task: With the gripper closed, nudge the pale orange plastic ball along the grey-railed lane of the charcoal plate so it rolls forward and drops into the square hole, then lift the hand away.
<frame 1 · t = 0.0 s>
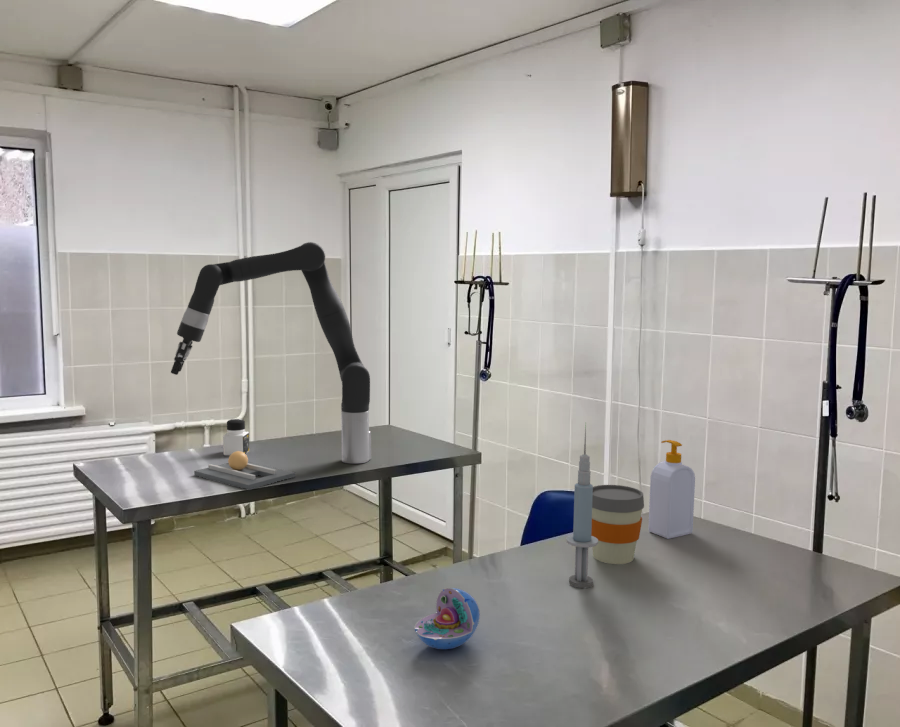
hand: (175, 372, 241), 31 cm above the table, tool tilted 20°, fingers open, 8 cm apart
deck: (244, 476, 237), on the table
medicine bottle: (236, 453, 267), on the table
reusable coffee cup: (613, 557, 172), on the table
syringe: (580, 584, 157), on the table
soap bottle: (669, 533, 188), on the table
ball: (238, 460, 238), point 4 cm above the table, touching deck
cell model: (447, 646, 130), on the table
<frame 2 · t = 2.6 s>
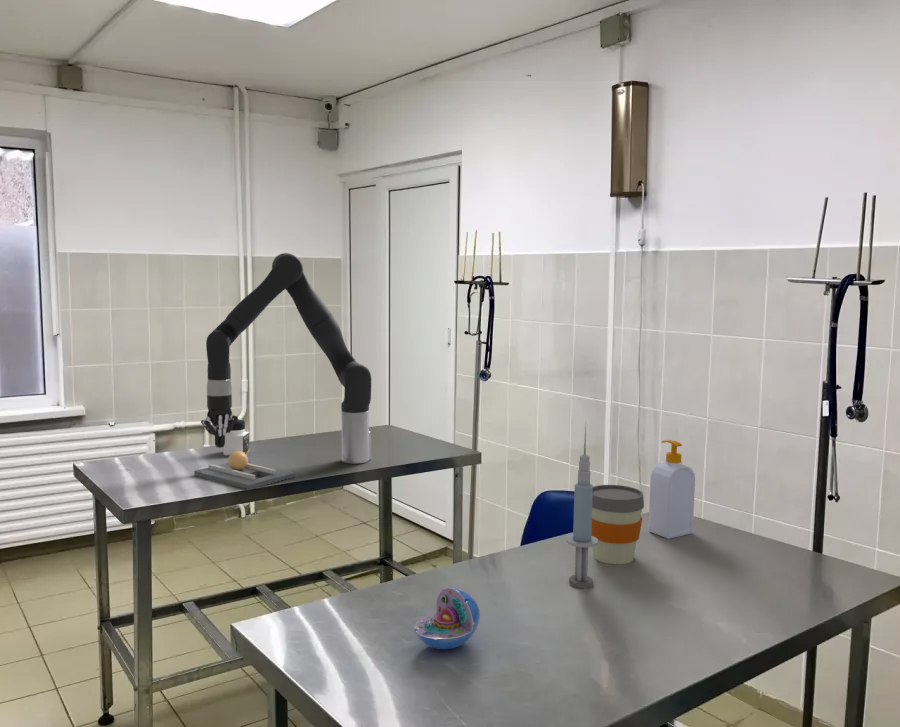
hand: (220, 446, 242), 8 cm above the table, tool pointing down, fingers closed
nothing on the table moved.
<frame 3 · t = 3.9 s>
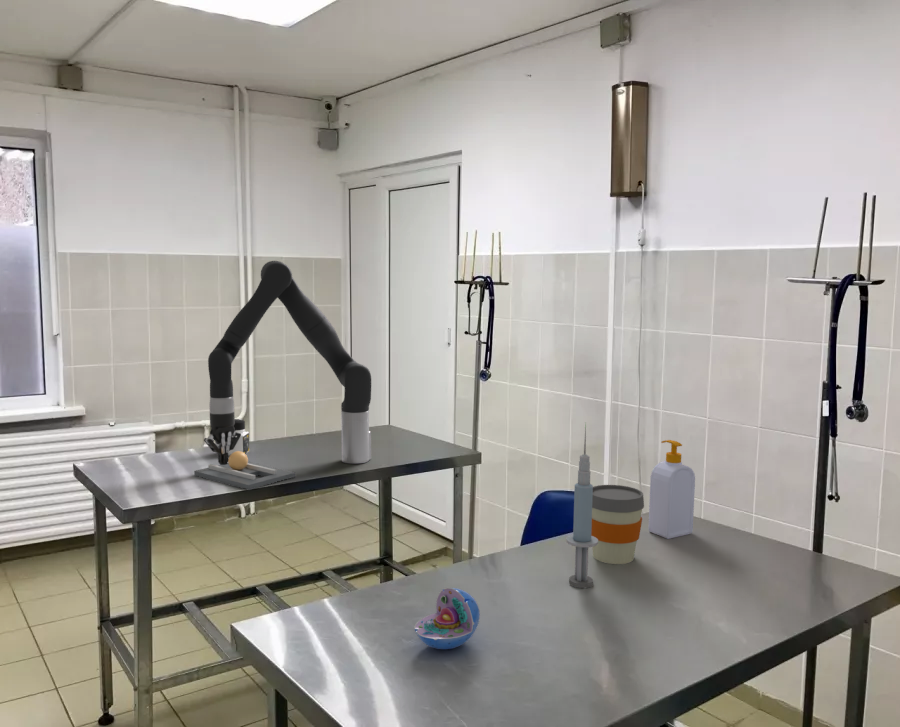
hand: (223, 464, 243), 2 cm above the table, tool pointing down, fingers closed
nothing on the table moved.
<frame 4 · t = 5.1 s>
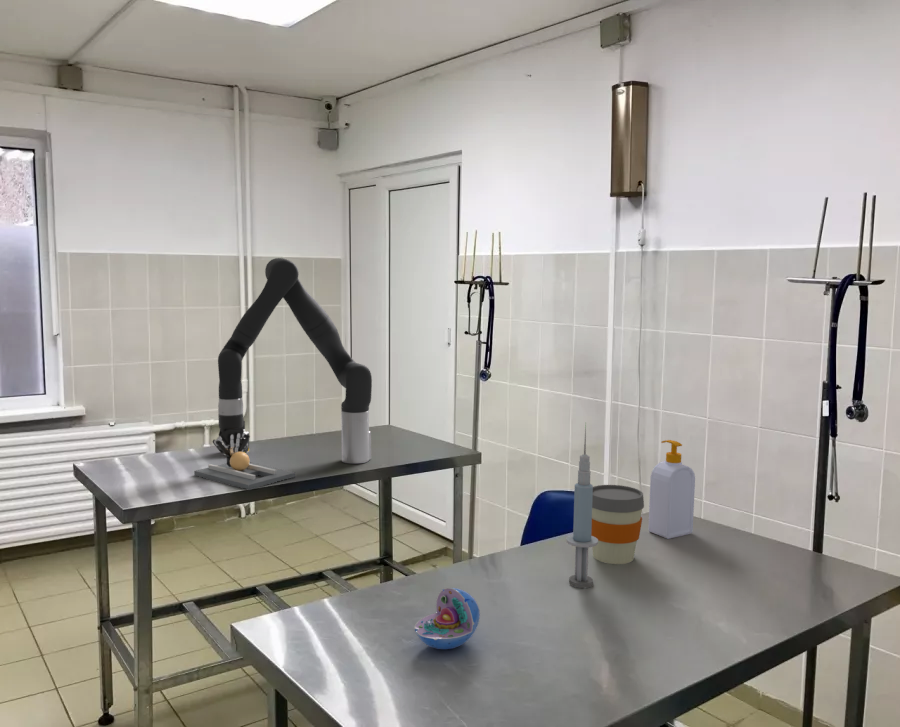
hand: (232, 466, 240), 2 cm above the table, tool pointing down, fingers closed
ball: (239, 461, 237), point 4 cm above the table, tilted 17°, touching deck, gripper
everything else where it was.
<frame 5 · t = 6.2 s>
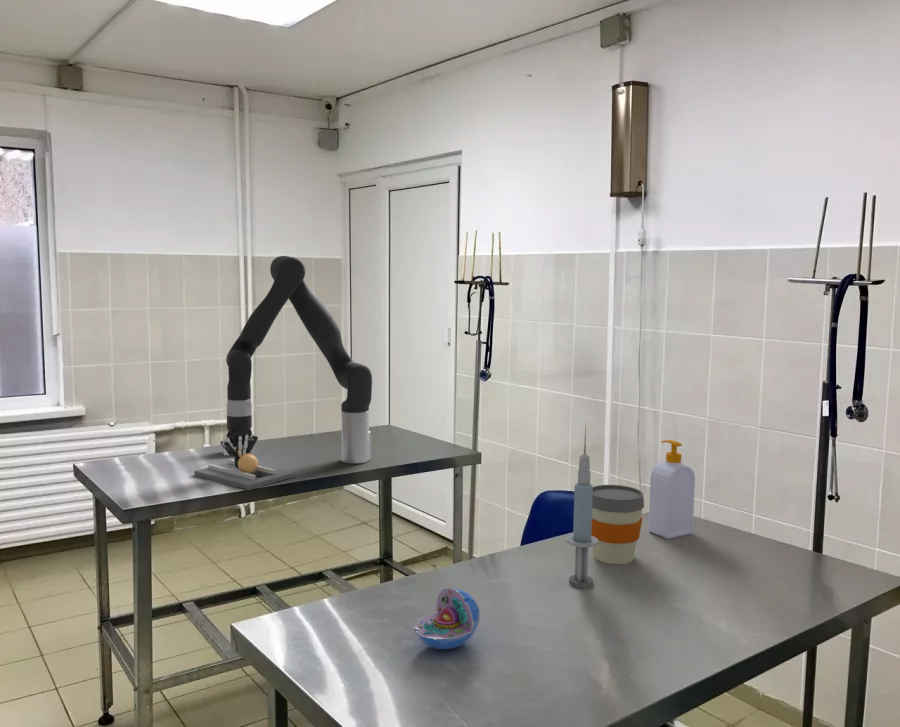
hand: (239, 468, 237), 2 cm above the table, tool pointing down, fingers closed
ball: (247, 463, 235), point 4 cm above the table, tilted 72°, touching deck, gripper
everything else where it was.
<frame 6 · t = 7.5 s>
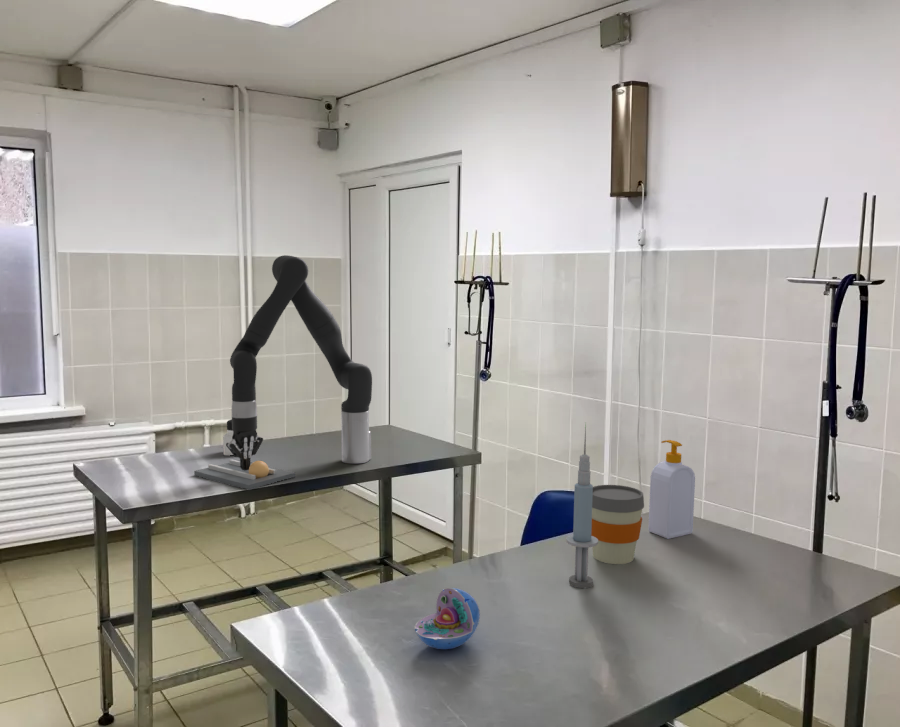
hand: (245, 469, 236), 2 cm above the table, tool pointing down, fingers closed
ball: (258, 470, 232), point 3 cm above the table, tilted 167°
everything else where it was.
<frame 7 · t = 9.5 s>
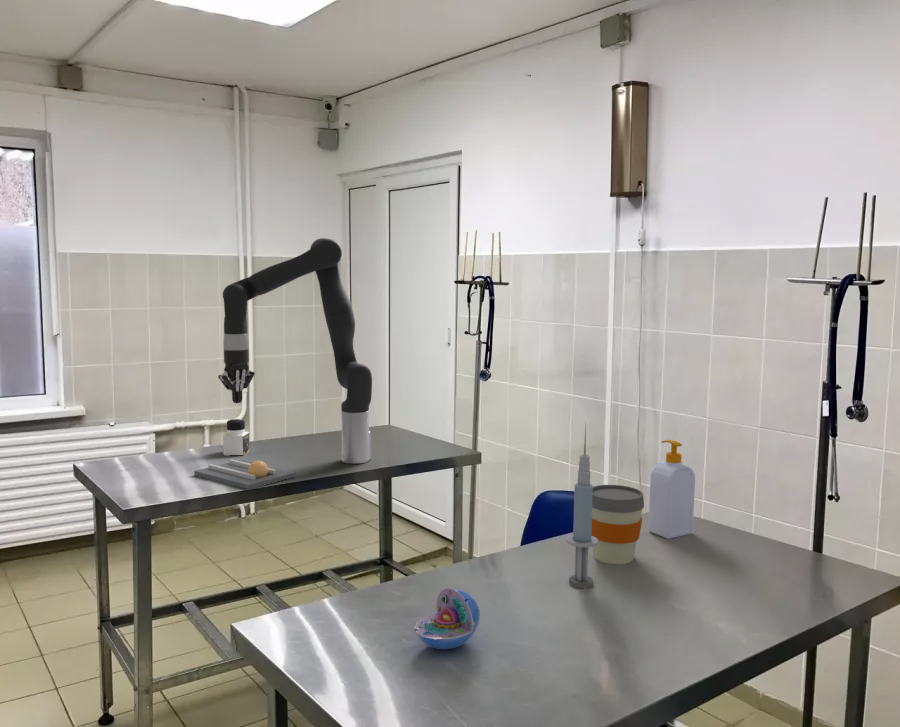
hand: (237, 402, 240), 22 cm above the table, tool pointing down, fingers closed
ball: (258, 470, 232), point 3 cm above the table, tilted 161°
everything else where it was.
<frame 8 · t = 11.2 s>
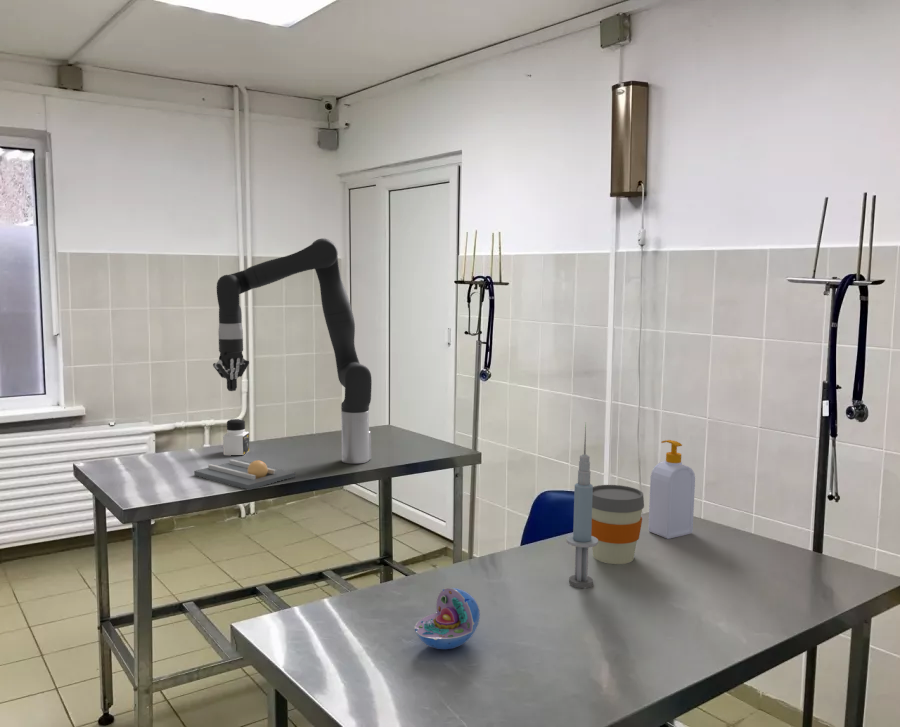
hand: (232, 390, 246), 25 cm above the table, tool pointing down, fingers closed
ball: (257, 470, 233), point 3 cm above the table, tilted 156°
everything else where it was.
at the end: ball 0.0 cm from the target spot on the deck, point 3.0 cm above the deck's base; the gripper is holding nothing; medicine bottle moved 0.2 cm from its start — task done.
